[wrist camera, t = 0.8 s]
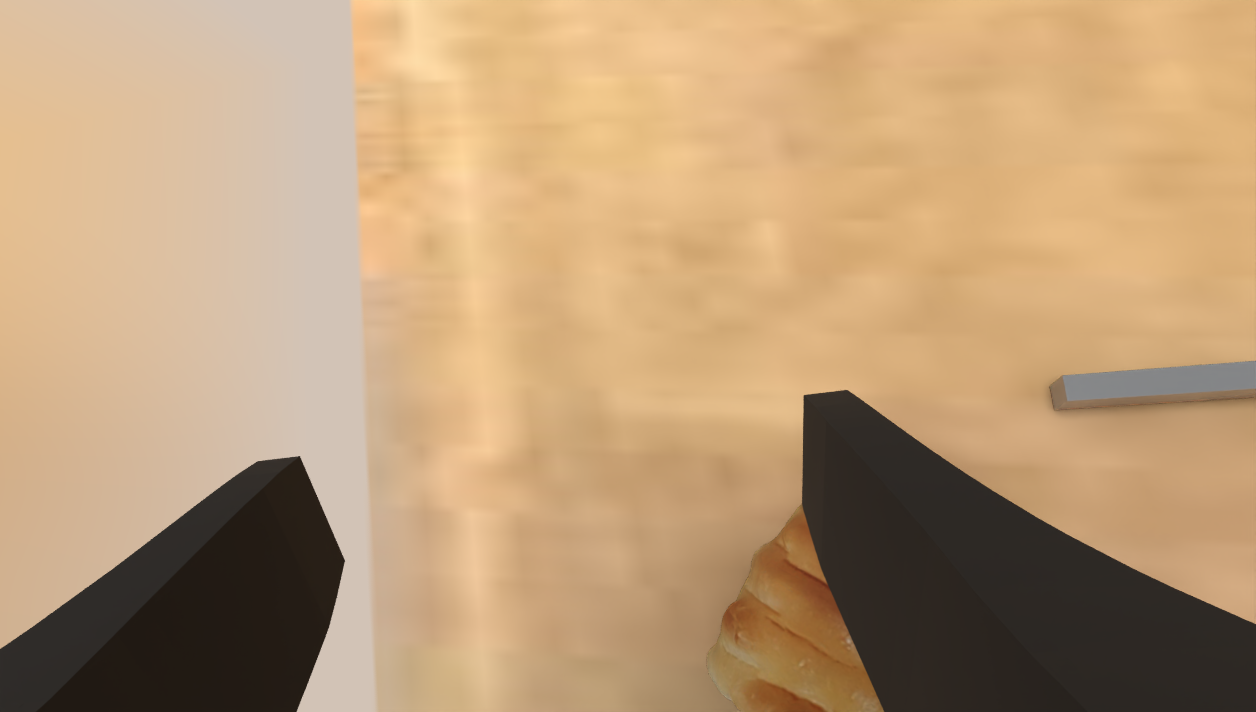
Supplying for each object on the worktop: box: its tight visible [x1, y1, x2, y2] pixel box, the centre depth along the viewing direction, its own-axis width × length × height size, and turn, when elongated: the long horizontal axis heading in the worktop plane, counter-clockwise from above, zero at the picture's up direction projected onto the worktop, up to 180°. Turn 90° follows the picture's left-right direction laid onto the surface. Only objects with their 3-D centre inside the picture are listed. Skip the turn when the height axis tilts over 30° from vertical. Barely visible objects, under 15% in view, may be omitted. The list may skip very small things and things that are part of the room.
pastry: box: [707, 505, 884, 712], centre depth 21 cm, size 9×7×4 cm
